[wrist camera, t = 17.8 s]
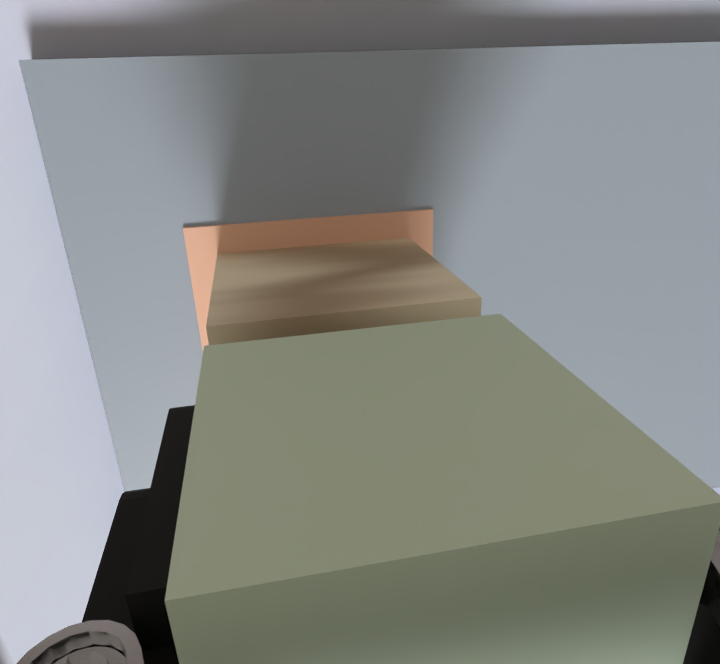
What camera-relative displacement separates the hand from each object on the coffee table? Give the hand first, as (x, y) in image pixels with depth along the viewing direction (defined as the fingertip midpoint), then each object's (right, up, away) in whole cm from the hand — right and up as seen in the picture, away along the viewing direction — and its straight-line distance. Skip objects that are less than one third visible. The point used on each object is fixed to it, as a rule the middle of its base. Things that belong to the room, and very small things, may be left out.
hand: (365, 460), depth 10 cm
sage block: (0, 0, 0) cm, 0 cm away
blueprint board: (+4, +3, +7) cm, 9 cm away
